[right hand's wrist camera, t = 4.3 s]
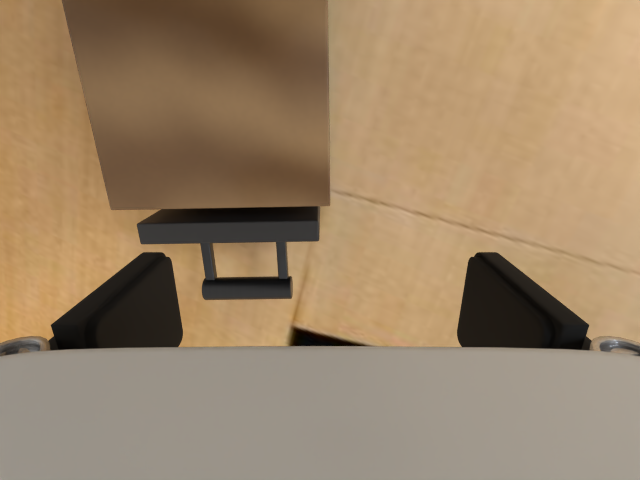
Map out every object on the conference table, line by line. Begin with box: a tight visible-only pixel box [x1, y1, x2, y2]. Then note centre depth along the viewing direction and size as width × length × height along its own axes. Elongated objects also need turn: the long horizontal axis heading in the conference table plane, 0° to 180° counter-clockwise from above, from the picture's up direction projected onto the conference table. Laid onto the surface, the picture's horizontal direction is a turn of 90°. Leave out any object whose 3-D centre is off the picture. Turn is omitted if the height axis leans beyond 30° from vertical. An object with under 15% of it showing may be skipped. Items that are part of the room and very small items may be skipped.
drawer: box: [137, 206, 320, 300], centre depth 21 cm, size 19×10×8 cm, turn 1°
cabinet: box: [62, 0, 330, 210], centre depth 19 cm, size 15×11×10 cm
